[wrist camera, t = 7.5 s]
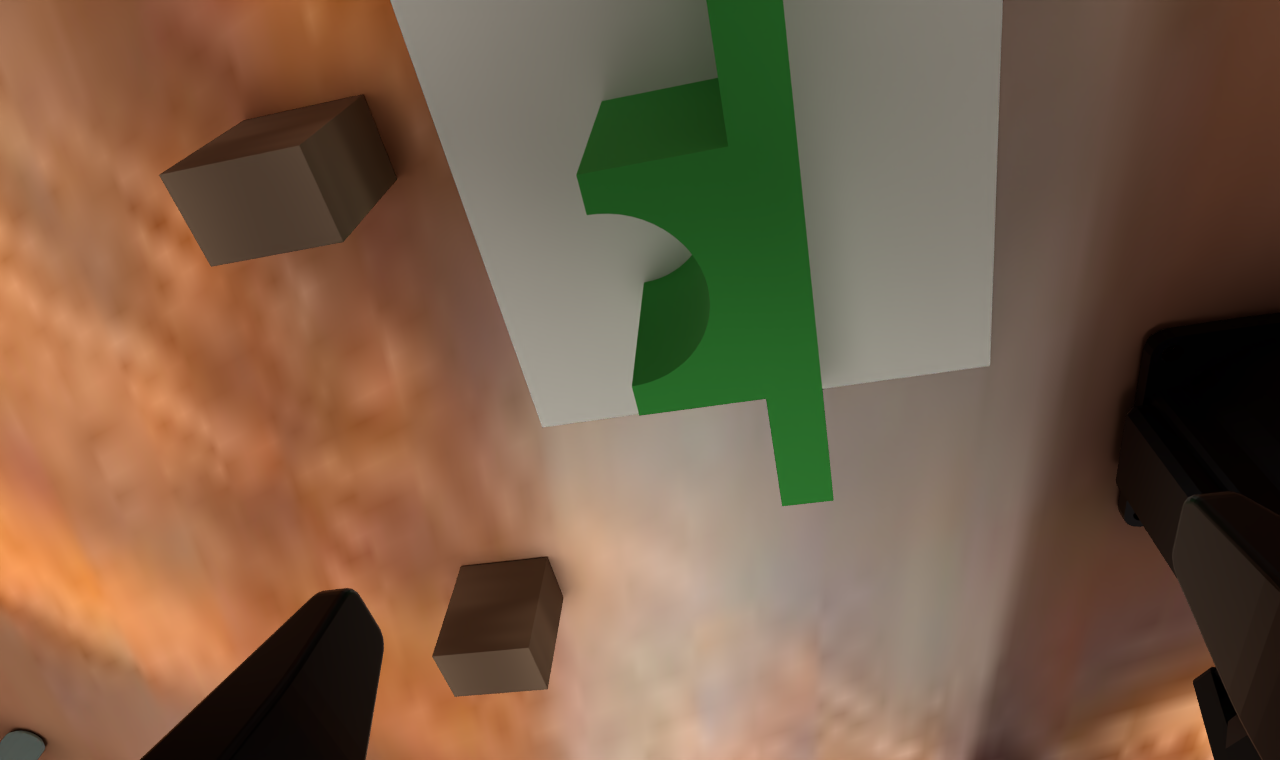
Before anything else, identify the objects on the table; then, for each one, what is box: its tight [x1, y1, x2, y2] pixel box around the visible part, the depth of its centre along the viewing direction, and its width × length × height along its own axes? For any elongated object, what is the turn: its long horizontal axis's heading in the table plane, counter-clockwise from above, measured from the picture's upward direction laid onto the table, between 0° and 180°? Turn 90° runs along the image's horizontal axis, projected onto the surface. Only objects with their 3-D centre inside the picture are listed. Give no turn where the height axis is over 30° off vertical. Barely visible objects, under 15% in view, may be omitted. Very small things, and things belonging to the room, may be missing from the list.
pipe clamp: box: [576, 0, 833, 506], centre depth 17 cm, size 11×4×5 cm, turn 12°
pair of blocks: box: [159, 94, 563, 697], centre depth 21 cm, size 3×17×4 cm, turn 12°
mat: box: [390, 0, 1003, 427], centre depth 18 cm, size 12×12×1 cm
